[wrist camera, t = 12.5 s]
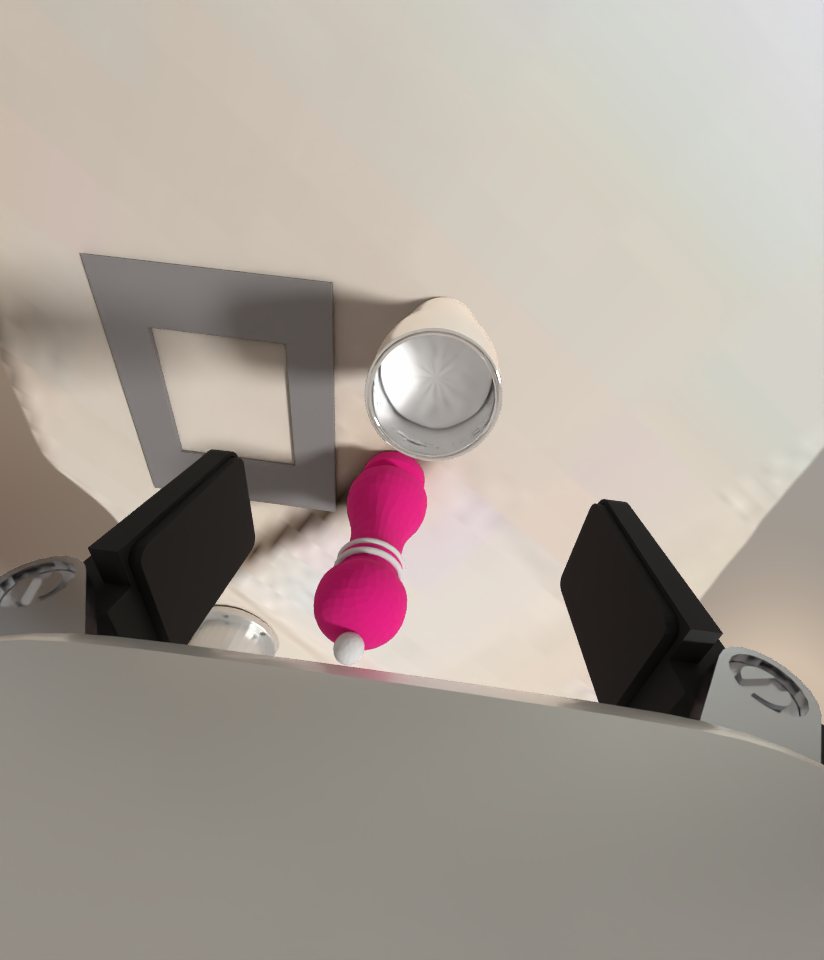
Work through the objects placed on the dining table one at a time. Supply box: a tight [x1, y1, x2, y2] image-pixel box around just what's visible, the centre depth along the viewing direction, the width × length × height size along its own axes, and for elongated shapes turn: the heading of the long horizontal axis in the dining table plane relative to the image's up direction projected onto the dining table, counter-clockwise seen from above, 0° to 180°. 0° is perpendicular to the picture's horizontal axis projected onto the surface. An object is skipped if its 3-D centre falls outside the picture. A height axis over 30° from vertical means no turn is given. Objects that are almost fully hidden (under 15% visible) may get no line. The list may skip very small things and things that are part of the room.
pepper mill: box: [314, 451, 427, 665], centre depth 29 cm, size 7×7×20 cm
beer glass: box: [365, 297, 503, 461], centre depth 24 cm, size 7×7×15 cm
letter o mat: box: [80, 253, 336, 512], centre depth 35 cm, size 22×20×1 cm
